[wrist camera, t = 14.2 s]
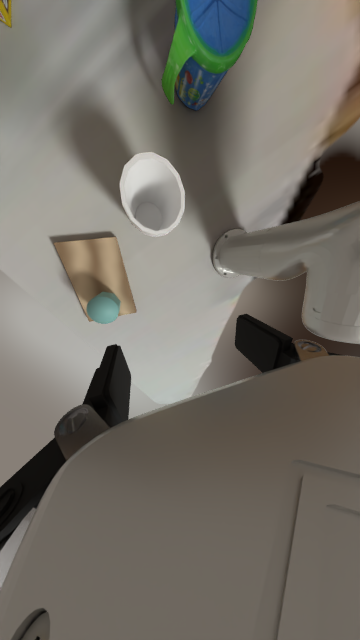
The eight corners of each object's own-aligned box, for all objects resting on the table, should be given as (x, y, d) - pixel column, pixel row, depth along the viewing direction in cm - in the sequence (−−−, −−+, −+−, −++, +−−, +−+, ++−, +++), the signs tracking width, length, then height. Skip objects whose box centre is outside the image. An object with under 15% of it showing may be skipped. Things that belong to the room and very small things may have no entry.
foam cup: (118, 220, 30) (106, 198, 19) (142, 180, 29) (144, 129, 17) (154, 251, 35) (162, 248, 23) (176, 217, 33) (196, 196, 22)
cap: (92, 313, 34) (86, 321, 30) (93, 289, 32) (86, 294, 28) (119, 316, 36) (117, 325, 32) (122, 294, 34) (119, 299, 30)
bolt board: (116, 237, 31) (112, 234, 27) (136, 310, 39) (135, 317, 35) (57, 243, 29) (41, 240, 24) (91, 319, 37) (83, 328, 32)
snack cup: (176, 147, 28) (193, 96, 19) (138, 69, 23) (138, -50, 14) (237, 91, 27) (285, 10, 18) (211, -4, 22) (260, -181, 13)
